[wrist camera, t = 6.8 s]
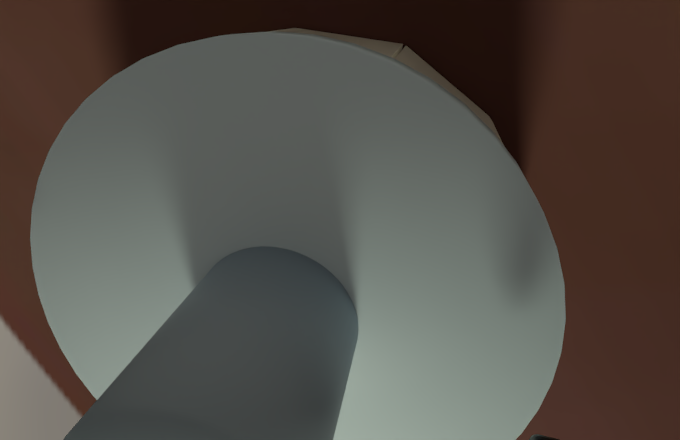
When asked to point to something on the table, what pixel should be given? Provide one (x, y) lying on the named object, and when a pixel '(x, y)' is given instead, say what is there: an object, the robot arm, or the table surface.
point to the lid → (293, 252)
